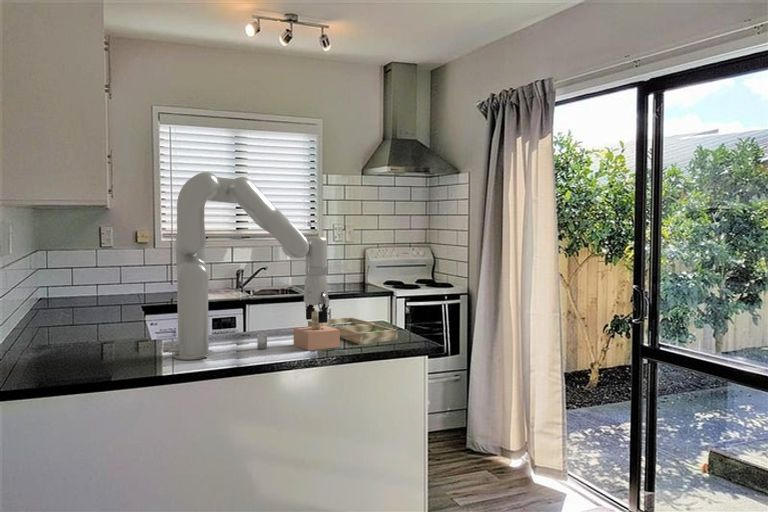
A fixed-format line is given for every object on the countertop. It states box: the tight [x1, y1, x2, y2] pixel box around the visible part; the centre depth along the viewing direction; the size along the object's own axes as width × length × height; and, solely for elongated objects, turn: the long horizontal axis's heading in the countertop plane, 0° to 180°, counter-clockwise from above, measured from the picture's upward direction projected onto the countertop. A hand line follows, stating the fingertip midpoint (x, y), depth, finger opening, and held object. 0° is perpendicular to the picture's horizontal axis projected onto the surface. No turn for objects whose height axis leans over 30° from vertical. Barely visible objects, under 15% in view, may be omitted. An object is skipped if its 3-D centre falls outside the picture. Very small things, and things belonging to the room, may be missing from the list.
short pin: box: [256, 333, 268, 351], centre depth 204 cm, size 3×3×5 cm
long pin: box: [311, 310, 321, 330], centre depth 210 cm, size 3×3×12 cm
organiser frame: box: [307, 317, 398, 346], centre depth 233 cm, size 20×38×4 cm, turn 33°
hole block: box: [293, 325, 341, 352], centre depth 210 cm, size 12×12×6 cm
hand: (316, 320), depth 210 cm, fingers open, 9 cm apart
